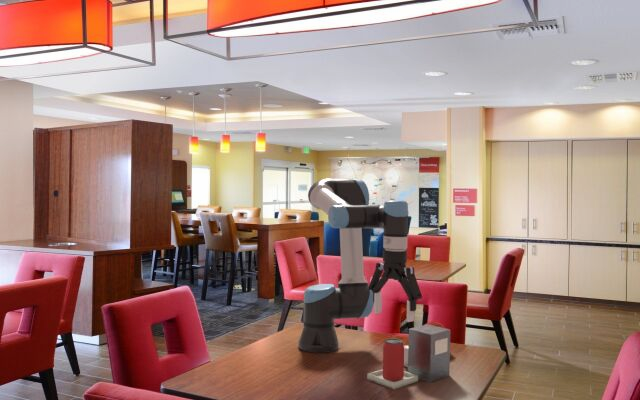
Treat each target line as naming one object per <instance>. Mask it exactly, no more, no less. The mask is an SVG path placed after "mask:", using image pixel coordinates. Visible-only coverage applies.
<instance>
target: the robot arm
mask: <svg viewBox="0 0 640 400" xmlns="http://www.w3.org/2000/svg"><path fill="white" fill-rule="evenodd" d="M369 192H370V191H369V188H368V186H367V183H365V181H363V180H362V179H357V178H356V179H355V178H322V179H320V180H317V181H315V182H314V183H313V184H312V185H311V186H310V187H309V189H308V194H307V198H308V199H307V200H308V201H309V203H310V205H311V206H312V207H313V208H315V209H316V210H321V211H322V212H323V213H325V214H326V215H327V219H328V223H329V227H331V228H333V229H339V242H340V248H339V249H340V266H341V268H340V269H341V279H340V280H339V281H338V283H337V287H336V286H335V285H334V284H333V283H320V284H319V283H318V284H315V285H310V286H308V287H307V288H305V290H304V293H303V294H304V295H303V301H302V302H303V327H302V330H301V333H300V338H299V340H298V348H299V350H301V351H304V352H307V353H315V354H316V353H317V354H318V353H320V354H323V353H324V354H325V353H330V352H331V353H332V352H335V351H337V350H339V348H340V347H339V343H340V342H339V339H338V336H337V333H336V329H335V320H345V319H346V320H347V319H361V318H368V317H369V316H370V315H371V314H372V312H373V314H380V313H382V306H383V305H382V303H383V302H382V299H383V297H382V295H383V292H382V288H384V286H385V285H386V284H387V282H388V281H389V280H393V281H397V282H398V283H400V285H401V287H402V289H403V291H404V292H405V294H406V296H407V299H408V300H406V322H407V323H410V322H411V323H412V322H415V311H416V310H417V300H420V299H421V300H422V298H423V296H422V293H421V289H420V287H419V283H418V280H417V278H416V275H415V268H414V267H413V266H412V267H407V266H406V264H407V261H408V251H407V249H408V229H409V228H408V227H409V226H408V225H409V224H408V223H409V204H408V202H407V200H397V199H396V200H385V201H384V204H376V205H374V204H373V205H370V193H369ZM363 229H383V234H382V235H383V239H382V241H383V243H382V247H383V250H382V261H383V262H382V261H381V262H377V263H376V264H375V270H374V272H373V275H372V277H371V280H370V282H368V280H366V279H365V275H364V255H363V254H364V253H363V252H364V251H363V232H362V230H363Z"/></svg>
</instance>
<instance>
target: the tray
mask: <svg viewBox="0 0 640 400" xmlns="http://www.w3.org/2000/svg"><path fill="white" fill-rule="evenodd" d="M366 375H367V377H366V378H367V380H368V381H370V382H373V383H376V384H379V385H382V386H384V387H387V388H389V389H392V390H397V389H399V388H402V387H405V386H408V385H411V384H414V383H417V382H418V381H419V378H418V376H417V375H414V374H411V373H408V371H406V370H404V378H403V379H402V380H400V381H396V382H394V381H389V380H386V379H384V378H383V368H382V369H378V370H376V371H372V372H368V373H366Z"/></svg>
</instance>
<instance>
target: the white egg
mask: <svg viewBox="0 0 640 400" xmlns="http://www.w3.org/2000/svg"><path fill="white" fill-rule="evenodd" d="M403 346H404V368H405V367H406V368H408V345H403Z"/></svg>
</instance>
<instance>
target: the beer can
mask: <svg viewBox="0 0 640 400" xmlns="http://www.w3.org/2000/svg"><path fill="white" fill-rule="evenodd" d="M403 343H404V342H403V340H402V339H399V338H392V337H391V338H386V339H385V340H384V343H383V346H382V347H383V348H382V369H383V378H384V379H386V380H389V381H394V382H396V381H400V380H402V379H403V378H404V371H405V366H404V346H405V345H404V344H403Z"/></svg>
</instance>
